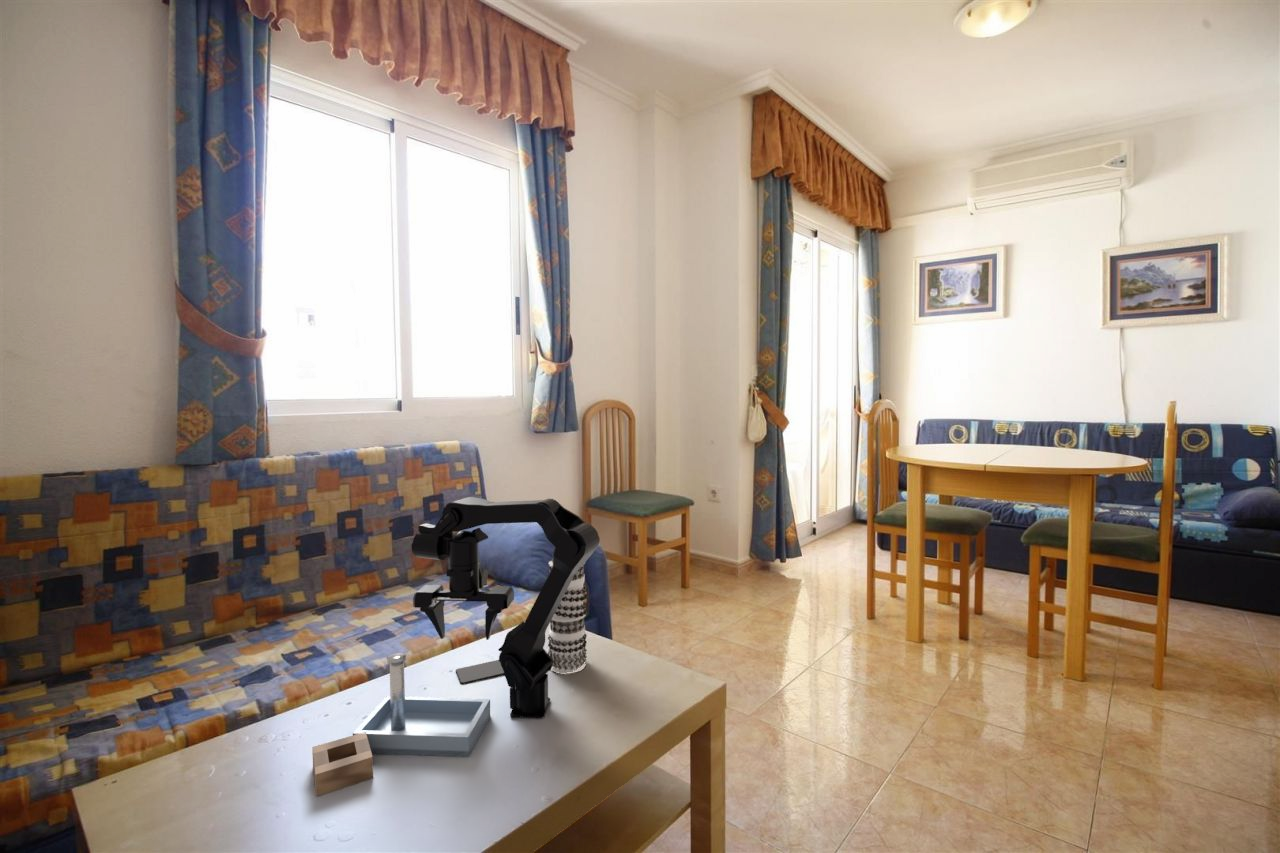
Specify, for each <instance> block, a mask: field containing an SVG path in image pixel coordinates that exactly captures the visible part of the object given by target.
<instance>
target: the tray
mask: <svg viewBox="0 0 1280 853" xmlns="http://www.w3.org/2000/svg"><path fill="white" fill-rule="evenodd" d="M490 718H491V698H474V697H473V698H466V697H465V698H464V697H435V696H434V697H432V696H430V697H429V696H405V728H404V729H403V730H400V731H392V730H391V703H390V695H386V696H385V697H384V698H383V699H382V701H381V702H380V703H379V704H378V705H377V706H376V707H375V708H373V710H372V711H371V713H370V714H369V715H368V716H367V717H366V718H365V719H364V720H363V722H361V723H360V725H359V726H358V727H357V728H356V729H355V730H354V731H353V732H352V736H353V735H356V734H360V733H361V734H366V735H367V738H368V742H369V746H370V749H371V753H372V755H373V754H374V755H398V756H399V755H400V756H401V755H403V756H429V757H431V756H432V757H433V756H435V757H459V758H460V757H463V758H464V757H465V758H469V757H470V756H471V753H472V752H473V750H474V748H475V746H476V744H477V743H478V740H479V738H480V737H481V735H482V733H483V731H484V729H485V728H486V726H487V724H488V722H489V720H490Z"/></svg>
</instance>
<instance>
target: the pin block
mask: <svg viewBox="0 0 1280 853" xmlns="http://www.w3.org/2000/svg"><path fill="white" fill-rule="evenodd" d="M311 751H312V769H313V770H312V771H313V780H314V787H315V796H316V797H319V796H321V795H325V794H329V793H332V792H334V791H336V790H337V791H338V790H340V789H344V788H346V787H349V786H350V787H351V786H352V785H356V784H360V783H361V782H362V783H363V782H365V781H368V780H371V779H374V764H373V763H374V762H373V759H374V758H373V754H372V753H371V749H370V746H369V742H368V738H367V735H366V734H361V733H360V734H356V735H353V734H352V735H351V736H347V737H343V738H340V739H336V740H331V741H329V742H325V743H321V744H317V745H314V746H312V750H311Z"/></svg>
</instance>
